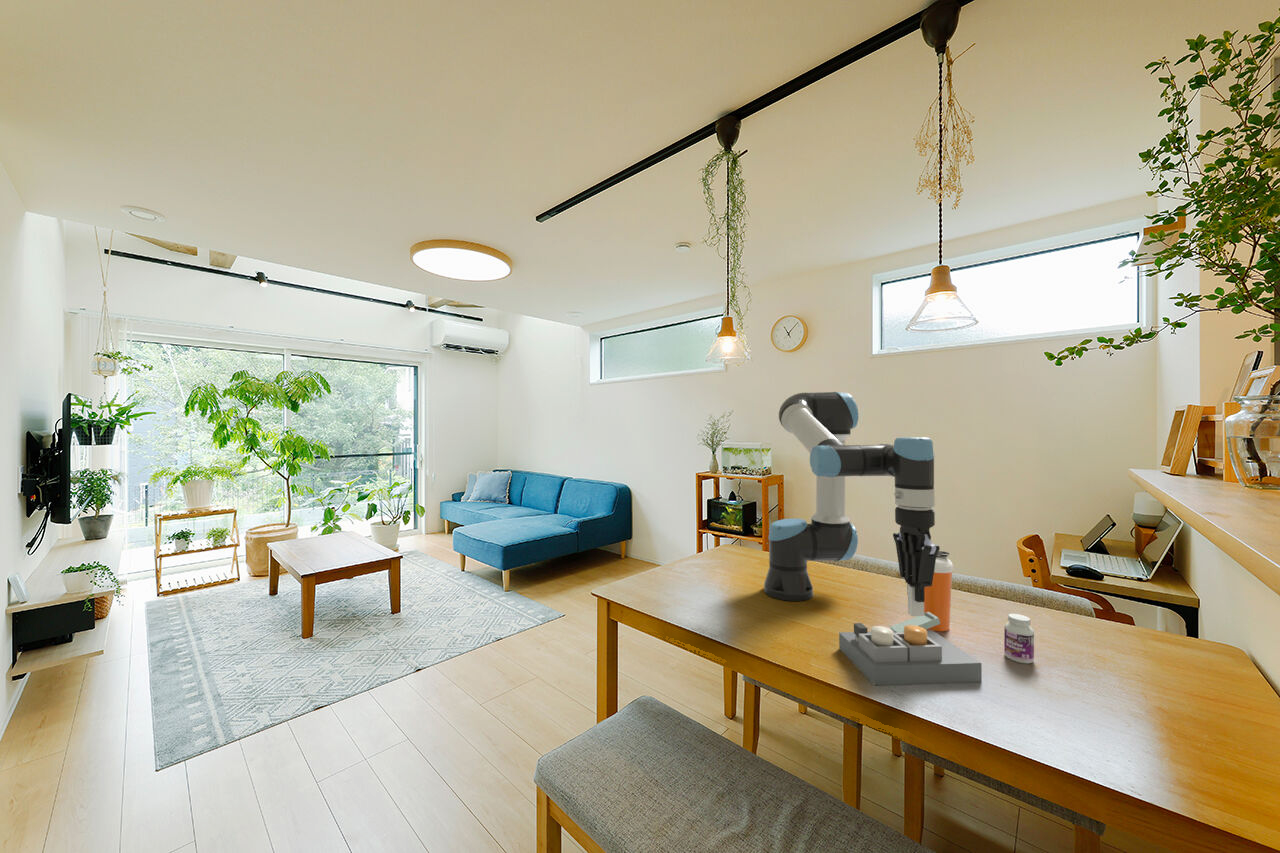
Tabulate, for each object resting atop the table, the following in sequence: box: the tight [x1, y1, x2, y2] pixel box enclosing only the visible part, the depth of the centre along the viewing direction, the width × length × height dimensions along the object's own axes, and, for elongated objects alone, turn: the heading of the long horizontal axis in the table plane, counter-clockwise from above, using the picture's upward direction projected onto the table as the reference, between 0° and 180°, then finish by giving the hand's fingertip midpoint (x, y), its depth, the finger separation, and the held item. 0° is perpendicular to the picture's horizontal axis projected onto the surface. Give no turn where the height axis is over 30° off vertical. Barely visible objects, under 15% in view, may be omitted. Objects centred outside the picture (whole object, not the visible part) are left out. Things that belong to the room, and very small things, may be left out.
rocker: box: [889, 612, 940, 633], centre depth 110 cm, size 4×10×2 cm, turn 92°
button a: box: [870, 625, 894, 646], centre depth 103 cm, size 4×4×3 cm
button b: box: [904, 625, 928, 645], centre depth 103 cm, size 4×4×3 cm
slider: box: [853, 622, 869, 637], centre depth 110 cm, size 3×2×2 cm, turn 2°
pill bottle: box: [1003, 613, 1035, 664], centre depth 109 cm, size 5×5×10 cm
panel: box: [838, 629, 983, 686], centre depth 106 cm, size 16×23×7 cm
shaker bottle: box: [924, 550, 954, 632], centre depth 126 cm, size 9×9×20 cm
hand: (916, 614), depth 103 cm, fingers closed
